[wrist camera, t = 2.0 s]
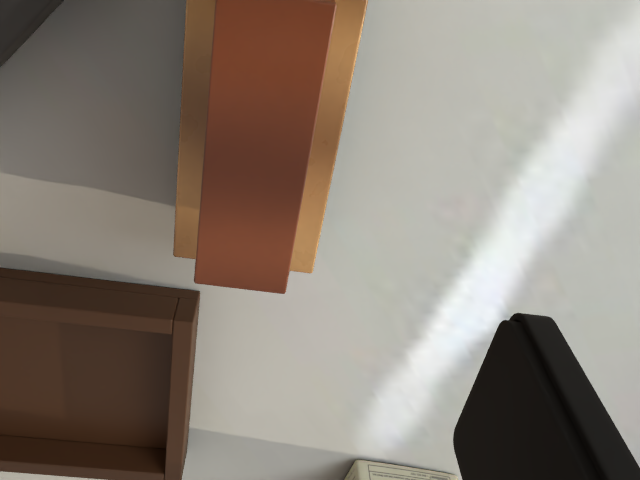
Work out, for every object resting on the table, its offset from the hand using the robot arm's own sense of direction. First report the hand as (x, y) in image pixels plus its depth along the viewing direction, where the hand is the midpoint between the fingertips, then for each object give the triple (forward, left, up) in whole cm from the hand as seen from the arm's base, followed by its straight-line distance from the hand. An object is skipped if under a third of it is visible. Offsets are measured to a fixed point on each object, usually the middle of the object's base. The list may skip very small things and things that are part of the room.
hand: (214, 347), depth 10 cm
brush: (0, 0, -13) cm, 13 cm away
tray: (+15, -10, -13) cm, 22 cm away
